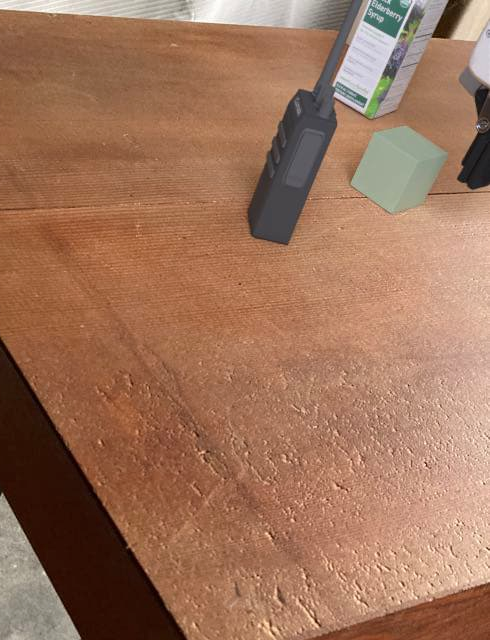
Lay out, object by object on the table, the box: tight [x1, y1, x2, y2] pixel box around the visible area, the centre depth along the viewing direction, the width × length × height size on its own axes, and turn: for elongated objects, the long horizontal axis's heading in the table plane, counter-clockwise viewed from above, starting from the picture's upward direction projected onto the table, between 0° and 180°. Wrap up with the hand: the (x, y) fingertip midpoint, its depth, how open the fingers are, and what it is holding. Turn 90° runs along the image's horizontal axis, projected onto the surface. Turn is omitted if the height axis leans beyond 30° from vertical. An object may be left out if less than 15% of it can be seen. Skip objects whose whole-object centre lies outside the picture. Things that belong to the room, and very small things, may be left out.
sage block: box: [349, 125, 450, 215], centre depth 87 cm, size 5×5×5 cm
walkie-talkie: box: [247, 0, 363, 246], centre depth 72 cm, size 5×3×20 cm
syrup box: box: [331, 0, 449, 120], centre depth 97 cm, size 6×6×14 cm
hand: (472, 182), depth 82 cm, fingers closed
